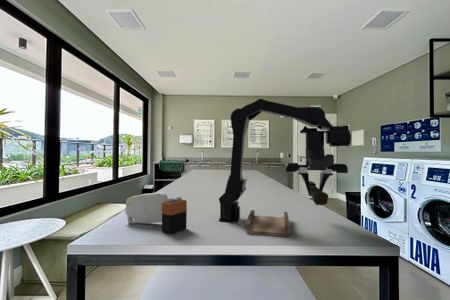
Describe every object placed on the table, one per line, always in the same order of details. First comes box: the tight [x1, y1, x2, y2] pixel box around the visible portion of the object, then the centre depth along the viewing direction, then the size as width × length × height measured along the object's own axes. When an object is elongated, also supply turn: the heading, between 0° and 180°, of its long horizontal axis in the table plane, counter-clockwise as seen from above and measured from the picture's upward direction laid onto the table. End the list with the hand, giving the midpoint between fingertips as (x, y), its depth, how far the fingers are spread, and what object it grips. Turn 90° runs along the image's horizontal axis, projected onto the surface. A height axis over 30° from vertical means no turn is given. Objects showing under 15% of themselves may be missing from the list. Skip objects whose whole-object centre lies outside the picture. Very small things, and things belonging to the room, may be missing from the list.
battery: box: [161, 196, 188, 235], centre depth 71 cm, size 4×7×10 cm, turn 145°
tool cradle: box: [244, 209, 291, 238], centre depth 75 cm, size 13×17×3 cm
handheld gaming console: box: [125, 191, 169, 225], centre depth 77 cm, size 11×3×15 cm
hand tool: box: [308, 180, 329, 206], centre depth 75 cm, size 19×4×5 cm, turn 167°
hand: (314, 193), depth 75 cm, fingers closed on hand tool, 3 cm apart
